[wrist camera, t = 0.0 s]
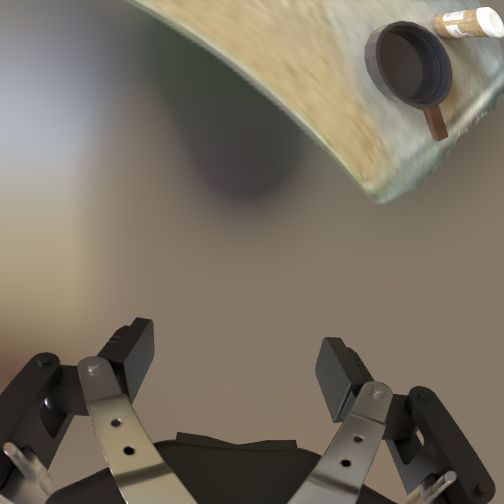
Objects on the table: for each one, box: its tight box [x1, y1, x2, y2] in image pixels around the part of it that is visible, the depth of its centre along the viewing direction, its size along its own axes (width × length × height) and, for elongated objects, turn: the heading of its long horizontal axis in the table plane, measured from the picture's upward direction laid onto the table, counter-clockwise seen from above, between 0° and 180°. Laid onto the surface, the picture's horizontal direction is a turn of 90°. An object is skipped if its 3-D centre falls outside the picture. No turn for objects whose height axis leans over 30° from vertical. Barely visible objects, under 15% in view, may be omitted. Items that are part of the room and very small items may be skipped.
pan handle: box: [416, 105, 448, 141], centre depth 31 cm, size 6×2×4 cm, turn 33°
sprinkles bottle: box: [432, 7, 504, 39], centre depth 17 cm, size 5×5×13 cm
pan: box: [365, 21, 452, 108], centre depth 26 cm, size 13×13×4 cm
